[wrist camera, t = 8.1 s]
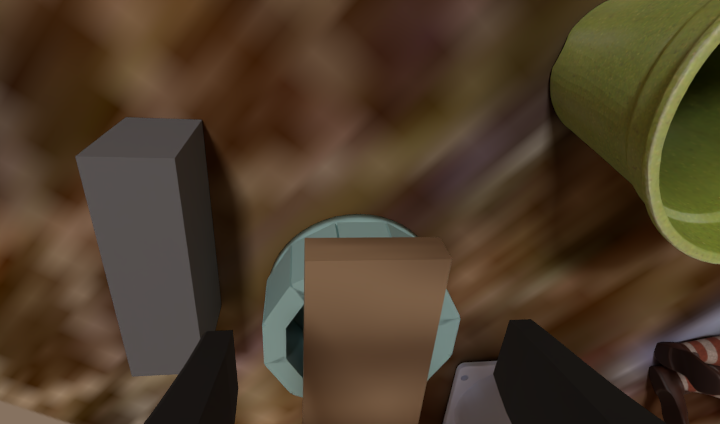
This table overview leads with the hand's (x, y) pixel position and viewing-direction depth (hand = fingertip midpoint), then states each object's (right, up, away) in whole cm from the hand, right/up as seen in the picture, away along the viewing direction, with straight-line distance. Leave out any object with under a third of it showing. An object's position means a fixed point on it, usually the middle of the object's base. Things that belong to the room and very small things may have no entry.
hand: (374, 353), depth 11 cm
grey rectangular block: (-9, +3, +9) cm, 13 cm away
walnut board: (0, -2, +9) cm, 9 cm away
